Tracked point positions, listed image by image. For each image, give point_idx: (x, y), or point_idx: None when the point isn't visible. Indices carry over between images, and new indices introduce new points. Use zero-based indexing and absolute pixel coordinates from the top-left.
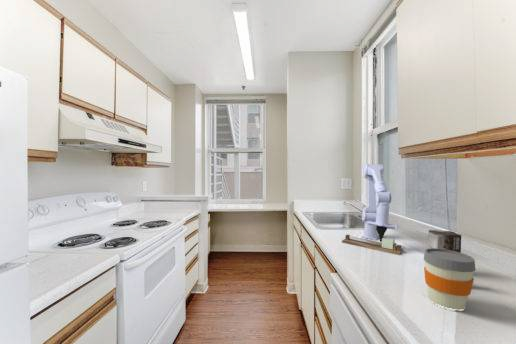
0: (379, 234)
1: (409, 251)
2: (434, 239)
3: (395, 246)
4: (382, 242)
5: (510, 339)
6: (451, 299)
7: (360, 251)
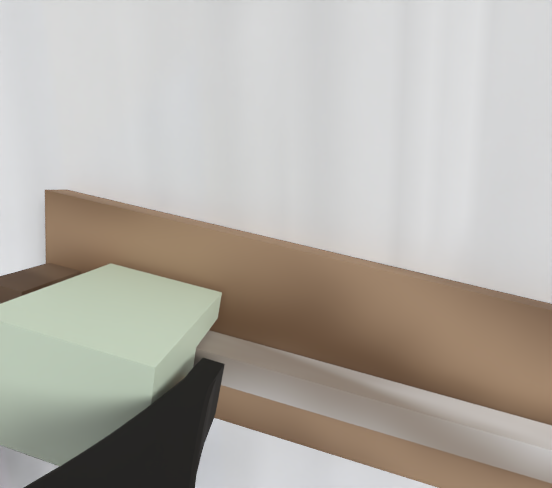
0: (166, 474)
1: None
2: None
3: None
4: (184, 320)
5: None
6: None
7: (488, 39)
